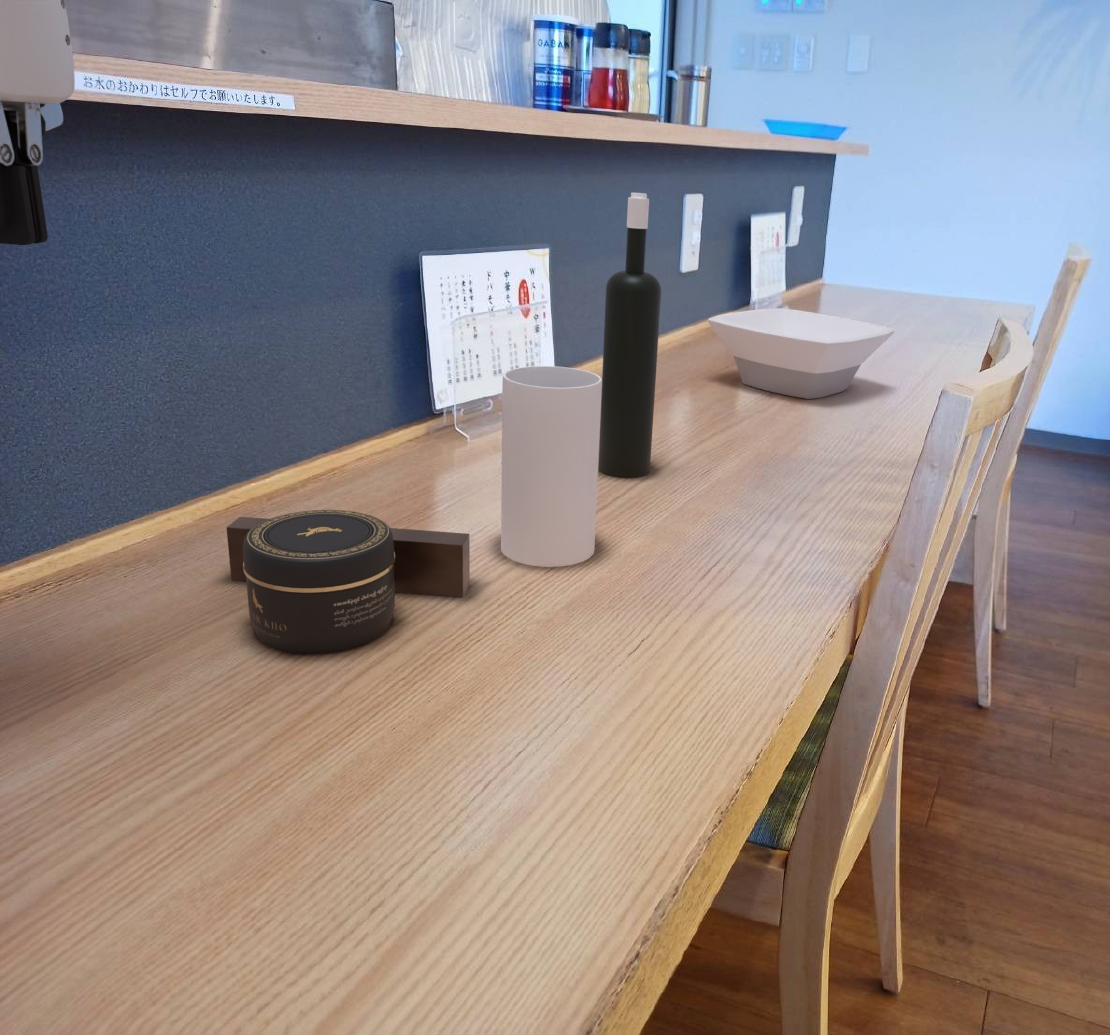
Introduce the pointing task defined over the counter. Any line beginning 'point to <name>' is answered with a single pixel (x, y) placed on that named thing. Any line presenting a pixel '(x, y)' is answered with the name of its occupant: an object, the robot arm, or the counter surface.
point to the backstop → (419, 559)
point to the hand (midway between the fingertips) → (9, 241)
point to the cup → (549, 464)
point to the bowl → (797, 349)
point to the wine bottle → (630, 356)
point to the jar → (320, 580)
